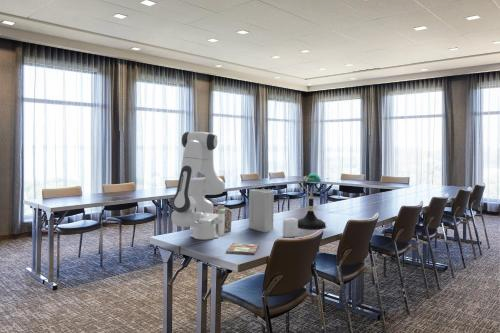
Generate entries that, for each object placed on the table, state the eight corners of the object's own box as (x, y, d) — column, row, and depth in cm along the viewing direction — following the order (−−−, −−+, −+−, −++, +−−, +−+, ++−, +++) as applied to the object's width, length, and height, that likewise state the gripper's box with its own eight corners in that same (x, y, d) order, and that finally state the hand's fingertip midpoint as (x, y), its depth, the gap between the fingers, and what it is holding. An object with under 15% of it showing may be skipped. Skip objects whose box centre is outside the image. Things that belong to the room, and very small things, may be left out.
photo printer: (295, 235, 263) (295, 217, 262) (298, 236, 259) (298, 218, 258) (281, 236, 259) (282, 218, 258) (284, 237, 255) (285, 219, 254)
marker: (218, 233, 220) (219, 208, 219) (225, 233, 220) (225, 209, 219) (217, 234, 217) (217, 209, 216) (223, 234, 216) (224, 210, 215)
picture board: (232, 244, 234) (232, 242, 234) (258, 246, 232) (258, 244, 232) (226, 253, 217) (226, 250, 217) (254, 254, 214) (254, 252, 214)
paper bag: (280, 229, 278) (281, 191, 277) (264, 232, 270) (265, 192, 268) (264, 225, 294) (264, 188, 292) (248, 227, 285) (248, 189, 283)
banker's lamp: (326, 230, 278) (327, 175, 276) (293, 228, 282) (295, 174, 280) (325, 223, 304) (326, 172, 302) (296, 221, 308) (297, 171, 306)
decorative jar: (231, 231, 271) (232, 205, 271) (218, 232, 264) (219, 206, 263) (221, 228, 280) (222, 203, 280) (207, 229, 272) (209, 204, 272)
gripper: (193, 217, 209) (218, 218, 207) (204, 211, 230) (227, 212, 227) (193, 229, 210) (218, 230, 207) (204, 221, 230) (227, 222, 228)
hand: (223, 220), depth 218 cm, fingers closed on marker, 3 cm apart
